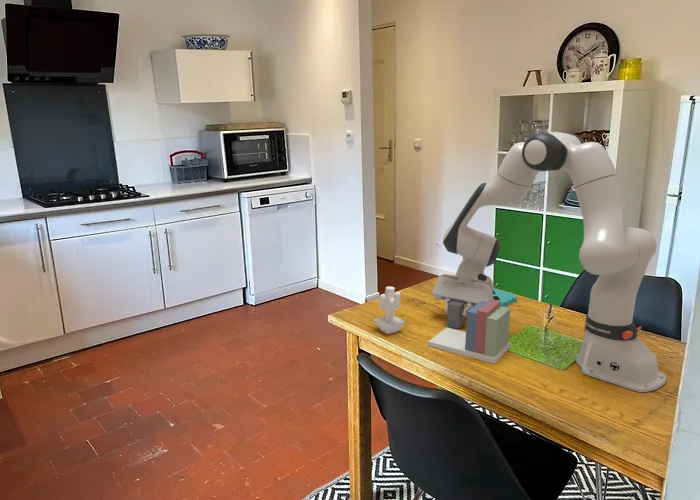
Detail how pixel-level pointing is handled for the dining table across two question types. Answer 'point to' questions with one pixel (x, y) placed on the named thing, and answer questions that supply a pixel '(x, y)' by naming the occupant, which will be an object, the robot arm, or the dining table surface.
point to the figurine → (389, 311)
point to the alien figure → (503, 297)
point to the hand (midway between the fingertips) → (455, 314)
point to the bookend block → (455, 314)
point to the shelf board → (459, 345)
